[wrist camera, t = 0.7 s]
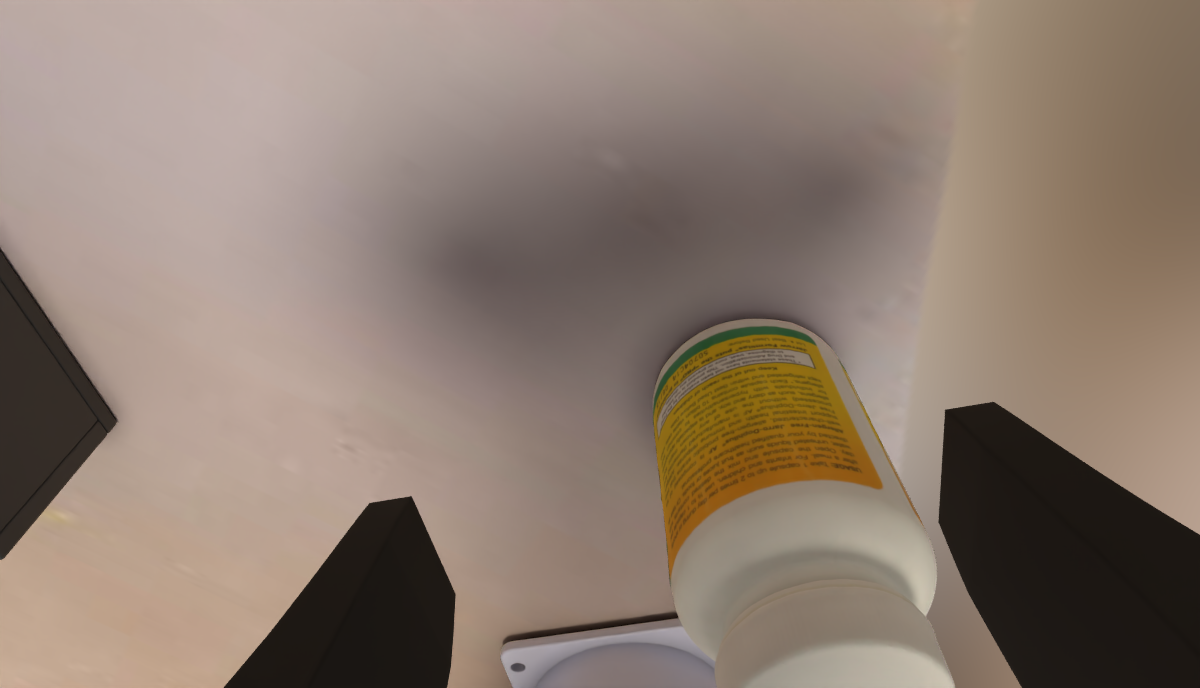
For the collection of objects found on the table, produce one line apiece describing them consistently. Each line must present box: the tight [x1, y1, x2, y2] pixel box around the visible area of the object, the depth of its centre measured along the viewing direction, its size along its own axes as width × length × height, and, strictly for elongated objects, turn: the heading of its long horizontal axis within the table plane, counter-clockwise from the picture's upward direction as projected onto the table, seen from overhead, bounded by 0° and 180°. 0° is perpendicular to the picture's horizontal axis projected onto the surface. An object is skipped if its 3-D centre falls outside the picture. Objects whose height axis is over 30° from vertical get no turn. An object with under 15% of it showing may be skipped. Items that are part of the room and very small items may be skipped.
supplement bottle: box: [653, 319, 955, 688], centre depth 17 cm, size 5×5×10 cm
